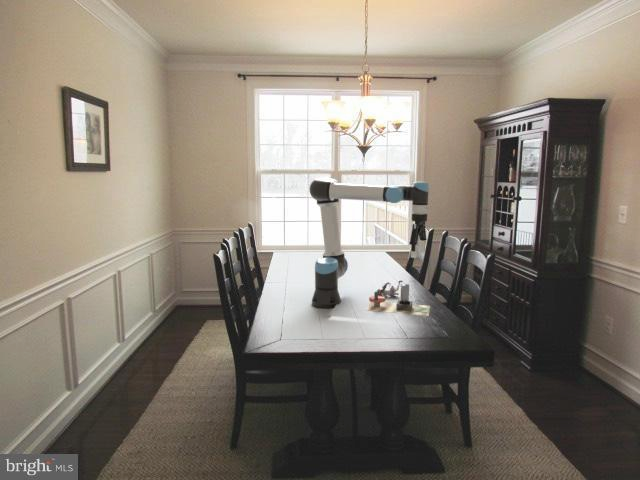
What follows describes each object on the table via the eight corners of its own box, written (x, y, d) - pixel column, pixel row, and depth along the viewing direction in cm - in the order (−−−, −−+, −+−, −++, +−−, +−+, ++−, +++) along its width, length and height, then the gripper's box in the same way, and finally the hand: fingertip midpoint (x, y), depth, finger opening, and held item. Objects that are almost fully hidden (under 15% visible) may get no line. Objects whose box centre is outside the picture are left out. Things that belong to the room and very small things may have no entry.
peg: (399, 309, 221) (400, 285, 219) (400, 306, 224) (401, 283, 222) (408, 310, 219) (408, 286, 217) (408, 307, 223) (409, 284, 221)
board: (365, 313, 220) (365, 304, 219) (370, 303, 235) (371, 295, 234) (428, 319, 211) (428, 309, 210) (430, 308, 226) (430, 300, 226)
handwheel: (367, 307, 223) (367, 291, 222) (370, 303, 231) (370, 287, 229) (383, 309, 221) (384, 293, 219) (386, 304, 228) (386, 288, 227)
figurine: (402, 305, 242) (376, 303, 237) (395, 297, 250) (370, 295, 245) (408, 286, 239) (382, 283, 234) (400, 278, 247) (376, 276, 242)
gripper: (419, 216, 212) (417, 260, 215) (433, 211, 233) (431, 251, 237) (404, 215, 215) (402, 258, 219) (419, 210, 237) (417, 250, 240)
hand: (417, 255), depth 228 cm, fingers open, 13 cm apart
